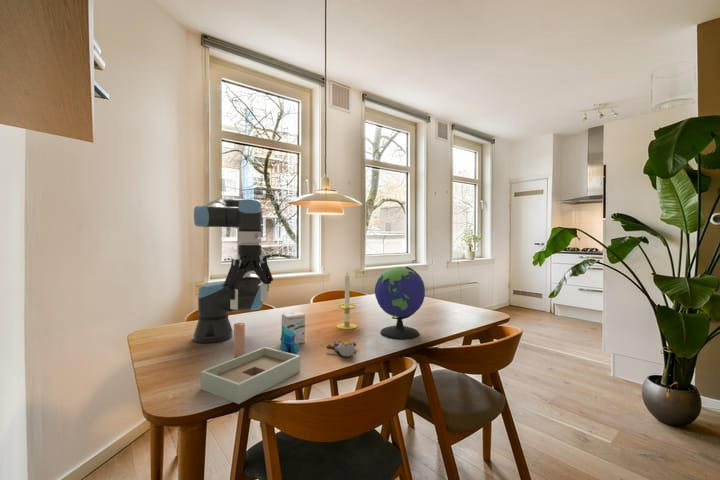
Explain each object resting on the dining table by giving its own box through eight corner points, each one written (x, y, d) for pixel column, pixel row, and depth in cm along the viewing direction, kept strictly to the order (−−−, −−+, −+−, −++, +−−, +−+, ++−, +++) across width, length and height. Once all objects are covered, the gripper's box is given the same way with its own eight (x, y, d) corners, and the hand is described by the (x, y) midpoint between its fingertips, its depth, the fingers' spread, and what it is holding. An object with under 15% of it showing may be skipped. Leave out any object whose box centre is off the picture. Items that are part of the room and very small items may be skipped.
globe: (385, 324, 161) (385, 263, 160) (430, 330, 151) (430, 265, 151) (366, 337, 141) (366, 267, 140) (416, 344, 131) (417, 270, 131)
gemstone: (276, 364, 111) (276, 328, 111) (281, 354, 119) (281, 322, 119) (298, 363, 111) (298, 328, 111) (301, 354, 120) (302, 321, 120)
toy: (351, 334, 132) (364, 341, 118) (351, 348, 131) (365, 356, 117) (322, 337, 128) (332, 344, 114) (322, 351, 127) (333, 360, 113)
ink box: (285, 346, 128) (285, 316, 128) (280, 342, 133) (281, 313, 132) (305, 342, 133) (305, 313, 133) (300, 339, 137) (300, 311, 137)
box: (200, 389, 92) (200, 371, 92) (264, 361, 113) (264, 346, 113) (238, 404, 84) (238, 384, 84) (300, 371, 105) (300, 355, 105)
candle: (357, 329, 152) (357, 271, 151) (335, 329, 152) (335, 271, 151) (357, 323, 161) (357, 269, 161) (337, 323, 162) (337, 269, 161)
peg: (231, 362, 112) (231, 324, 112) (240, 359, 115) (240, 322, 115) (238, 364, 110) (238, 326, 110) (247, 361, 113) (247, 323, 113)
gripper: (227, 245, 100) (227, 314, 101) (282, 243, 122) (282, 299, 123) (211, 244, 104) (211, 311, 104) (267, 243, 126) (267, 297, 126)
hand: (249, 305), depth 114 cm, fingers open, 13 cm apart
